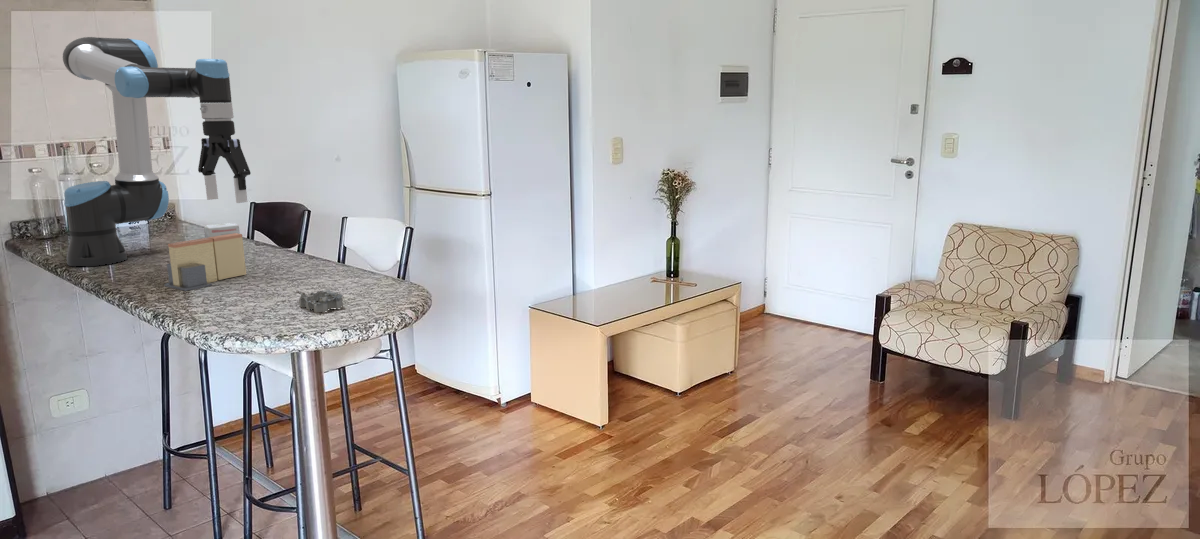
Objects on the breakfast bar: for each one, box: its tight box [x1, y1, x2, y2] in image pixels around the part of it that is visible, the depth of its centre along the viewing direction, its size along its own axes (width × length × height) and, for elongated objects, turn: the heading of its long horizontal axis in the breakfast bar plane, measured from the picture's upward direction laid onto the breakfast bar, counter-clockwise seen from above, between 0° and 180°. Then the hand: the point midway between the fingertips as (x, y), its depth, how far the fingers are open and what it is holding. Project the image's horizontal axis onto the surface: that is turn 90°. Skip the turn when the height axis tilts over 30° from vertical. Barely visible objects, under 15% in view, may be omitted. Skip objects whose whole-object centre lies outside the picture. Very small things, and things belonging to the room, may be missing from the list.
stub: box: [208, 233, 247, 281], centre depth 211 cm, size 3×8×11 cm, turn 146°
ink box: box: [203, 222, 241, 238], centre depth 227 cm, size 9×5×12 cm, turn 130°
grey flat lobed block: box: [296, 288, 344, 313], centre depth 181 cm, size 11×8×4 cm
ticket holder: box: [163, 237, 218, 292], centre depth 203 cm, size 10×10×11 cm
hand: (227, 201), depth 209 cm, fingers open, 13 cm apart
